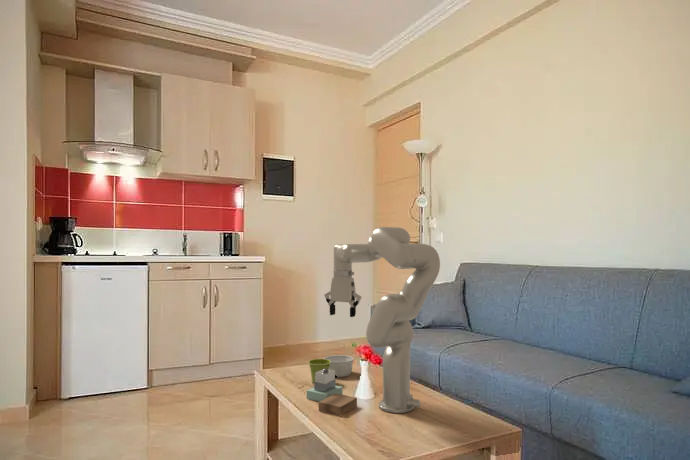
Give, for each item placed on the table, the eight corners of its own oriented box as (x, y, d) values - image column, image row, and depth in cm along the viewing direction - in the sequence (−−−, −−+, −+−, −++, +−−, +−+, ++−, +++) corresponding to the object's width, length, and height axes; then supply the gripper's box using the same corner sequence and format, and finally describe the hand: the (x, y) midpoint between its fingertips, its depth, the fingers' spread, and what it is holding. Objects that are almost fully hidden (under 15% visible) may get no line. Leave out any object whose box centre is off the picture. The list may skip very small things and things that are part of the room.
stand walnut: (356, 406, 165) (356, 397, 165) (340, 415, 155) (340, 406, 155) (335, 401, 169) (335, 393, 169) (318, 410, 160) (318, 402, 160)
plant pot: (330, 385, 188) (330, 364, 189) (307, 385, 189) (307, 364, 189) (331, 379, 198) (331, 358, 198) (309, 379, 198) (309, 358, 198)
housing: (335, 387, 177) (335, 368, 177) (325, 392, 171) (325, 372, 171) (324, 385, 179) (324, 366, 179) (314, 390, 173) (314, 370, 173)
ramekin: (319, 376, 202) (319, 360, 202) (329, 368, 214) (329, 353, 214) (348, 379, 198) (348, 363, 198) (356, 371, 210) (357, 356, 210)
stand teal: (342, 394, 177) (342, 386, 177) (326, 403, 168) (326, 394, 168) (323, 390, 182) (323, 383, 182) (306, 398, 173) (306, 390, 173)
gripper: (365, 274, 190) (365, 316, 189) (330, 273, 199) (329, 312, 198) (356, 275, 183) (356, 318, 183) (320, 274, 192) (320, 315, 192)
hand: (342, 315), depth 190 cm, fingers open, 9 cm apart
